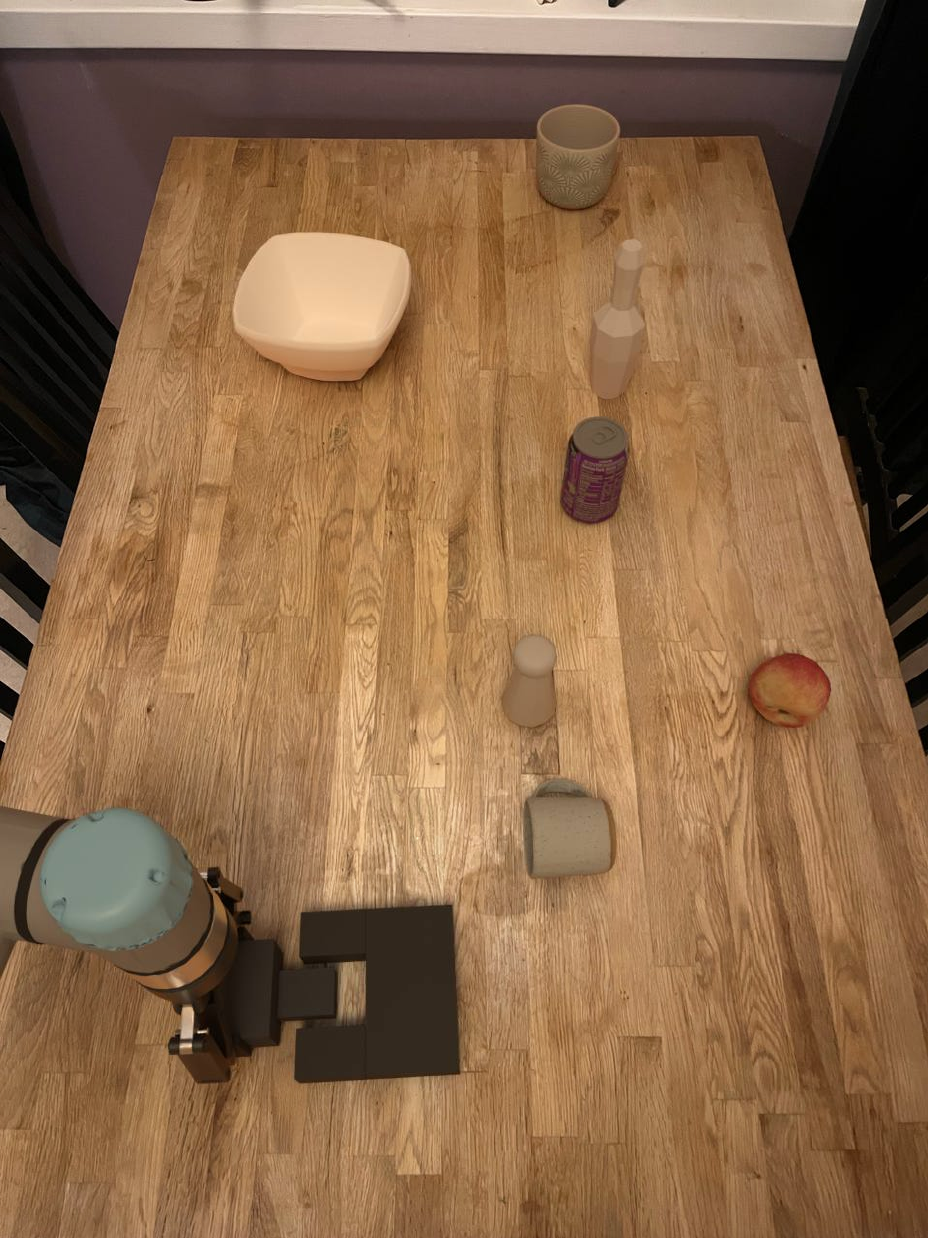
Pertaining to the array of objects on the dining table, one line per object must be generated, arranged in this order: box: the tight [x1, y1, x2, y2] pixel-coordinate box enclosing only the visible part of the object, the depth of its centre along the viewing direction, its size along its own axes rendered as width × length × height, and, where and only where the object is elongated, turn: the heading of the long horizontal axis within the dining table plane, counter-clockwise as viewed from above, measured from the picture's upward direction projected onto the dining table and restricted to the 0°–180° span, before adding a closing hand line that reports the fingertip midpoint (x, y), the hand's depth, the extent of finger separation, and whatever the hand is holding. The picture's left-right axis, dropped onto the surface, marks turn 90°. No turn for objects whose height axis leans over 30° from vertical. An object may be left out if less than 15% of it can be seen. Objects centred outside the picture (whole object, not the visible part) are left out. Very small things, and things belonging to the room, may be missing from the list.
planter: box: [535, 103, 621, 210], centre depth 147 cm, size 12×12×11 cm
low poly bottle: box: [588, 238, 646, 400], centre depth 119 cm, size 6×6×22 cm
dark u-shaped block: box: [293, 903, 461, 1085], centre depth 86 cm, size 14×14×3 cm
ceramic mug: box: [522, 778, 617, 880], centre depth 92 cm, size 11×8×8 cm
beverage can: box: [559, 416, 630, 524], centre depth 113 cm, size 7×7×12 cm
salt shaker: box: [500, 633, 558, 729], centre depth 97 cm, size 6×6×13 cm
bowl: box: [231, 232, 413, 382], centre depth 127 cm, size 22×22×12 cm
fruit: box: [748, 652, 832, 729], centre depth 99 cm, size 8×8×8 cm
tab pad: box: [223, 938, 338, 1049], centre depth 84 cm, size 12×8×5 cm, turn 93°
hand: (239, 1000), depth 86 cm, fingers closed on tab pad, 8 cm apart
